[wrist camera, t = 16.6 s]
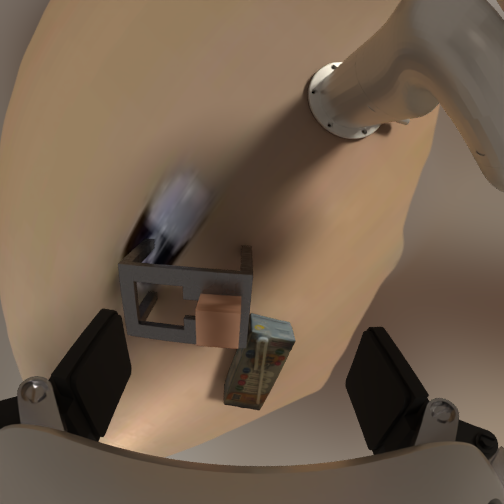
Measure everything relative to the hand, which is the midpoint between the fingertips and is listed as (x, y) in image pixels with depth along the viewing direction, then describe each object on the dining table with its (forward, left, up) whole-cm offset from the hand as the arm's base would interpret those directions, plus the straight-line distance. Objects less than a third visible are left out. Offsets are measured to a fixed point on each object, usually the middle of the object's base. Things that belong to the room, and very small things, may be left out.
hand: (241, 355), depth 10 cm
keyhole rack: (+7, +12, -33) cm, 36 cm away
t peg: (+2, +12, -28) cm, 31 cm away
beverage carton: (-4, +28, -34) cm, 44 cm away
